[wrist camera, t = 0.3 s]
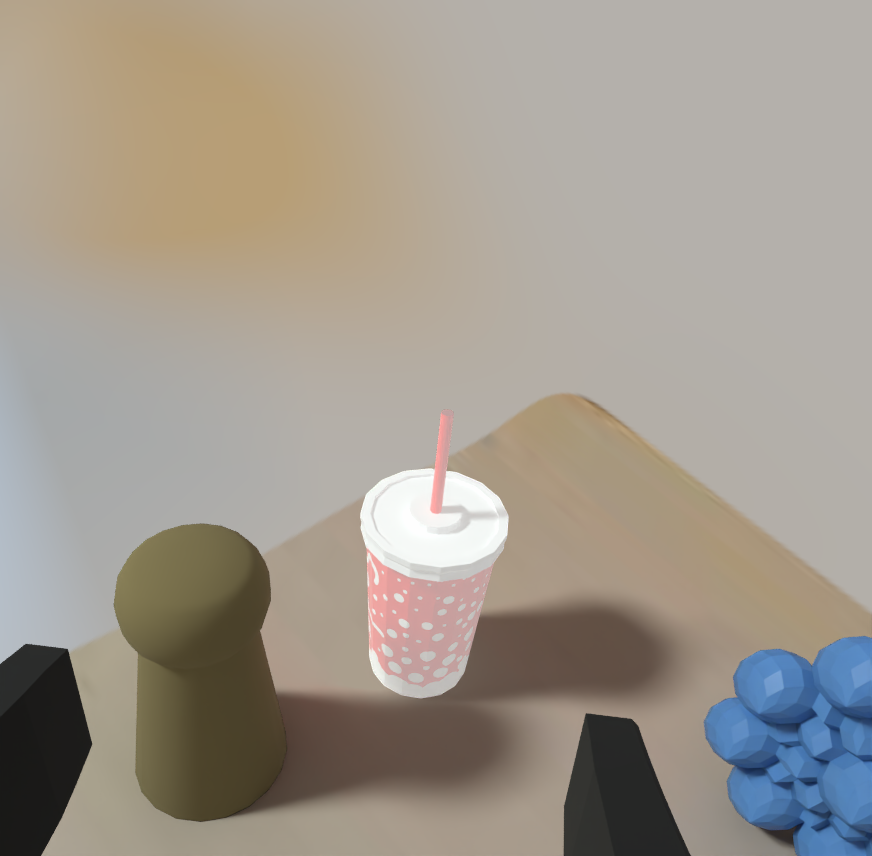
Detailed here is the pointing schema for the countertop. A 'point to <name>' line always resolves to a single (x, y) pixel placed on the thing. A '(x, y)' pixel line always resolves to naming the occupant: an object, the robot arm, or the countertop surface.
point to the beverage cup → (428, 571)
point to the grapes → (802, 745)
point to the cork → (201, 671)
